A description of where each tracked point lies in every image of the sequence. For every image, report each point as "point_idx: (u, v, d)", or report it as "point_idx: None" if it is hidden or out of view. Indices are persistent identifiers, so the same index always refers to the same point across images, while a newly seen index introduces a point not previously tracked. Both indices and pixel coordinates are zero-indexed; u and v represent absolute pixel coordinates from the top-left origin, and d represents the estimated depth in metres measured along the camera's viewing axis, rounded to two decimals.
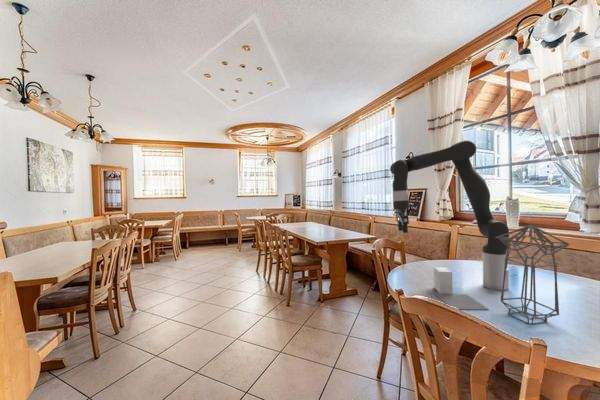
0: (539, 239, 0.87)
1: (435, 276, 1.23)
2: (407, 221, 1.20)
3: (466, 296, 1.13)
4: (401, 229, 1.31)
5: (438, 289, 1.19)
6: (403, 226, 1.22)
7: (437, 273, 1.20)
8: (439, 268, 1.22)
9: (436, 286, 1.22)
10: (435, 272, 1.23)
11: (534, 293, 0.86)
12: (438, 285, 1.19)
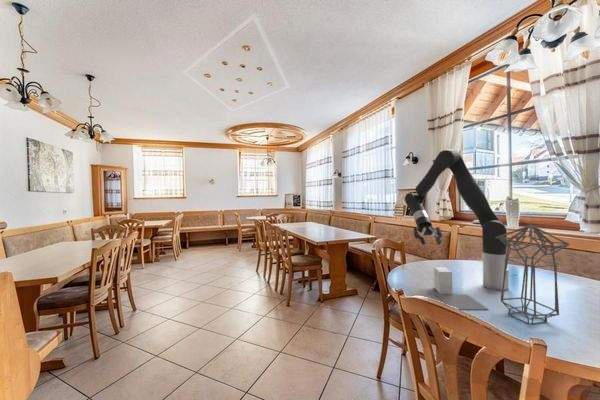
0: (539, 239, 0.87)
1: (435, 276, 1.23)
2: None
3: (466, 296, 1.13)
4: (438, 242, 1.31)
5: (438, 289, 1.19)
6: None
7: (437, 273, 1.20)
8: (439, 268, 1.22)
9: (436, 286, 1.22)
10: (435, 272, 1.23)
11: (534, 293, 0.86)
12: (438, 285, 1.19)
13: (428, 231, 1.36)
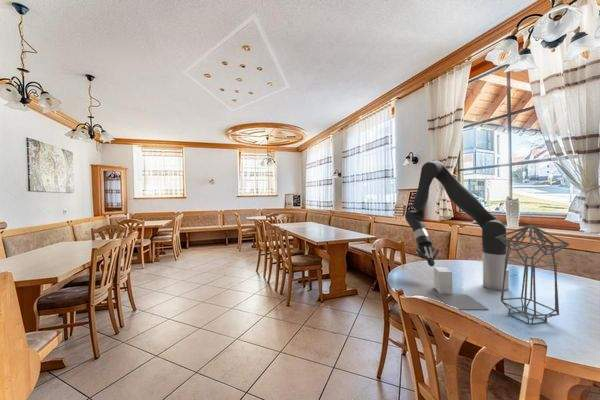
0: (539, 239, 0.87)
1: (435, 276, 1.23)
2: None
3: (466, 296, 1.13)
4: None
5: (438, 289, 1.19)
6: None
7: (437, 273, 1.20)
8: (439, 268, 1.22)
9: (436, 286, 1.22)
10: (435, 272, 1.23)
11: (534, 293, 0.86)
12: (438, 285, 1.19)
13: None
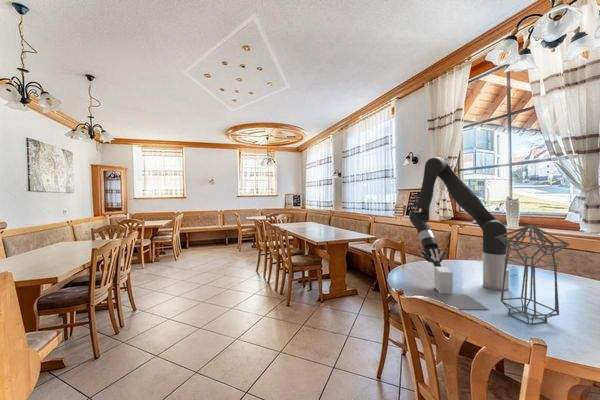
0: (539, 239, 0.87)
1: (435, 276, 1.22)
2: (429, 258, 1.28)
3: (466, 296, 1.13)
4: None
5: (438, 289, 1.19)
6: None
7: (438, 274, 1.19)
8: (439, 268, 1.22)
9: (436, 285, 1.22)
10: (435, 272, 1.22)
11: (534, 293, 0.86)
12: (438, 285, 1.19)
13: None
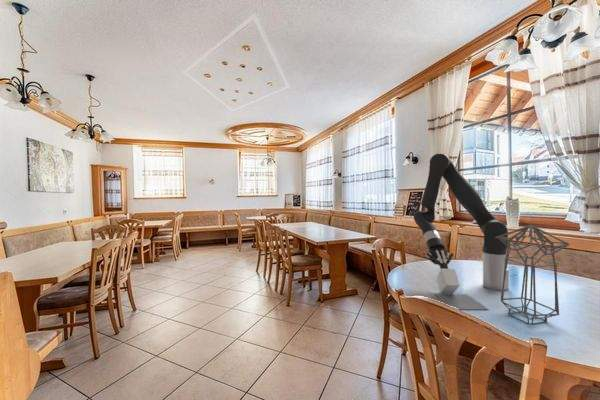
0: (539, 239, 0.87)
1: (440, 276, 1.16)
2: None
3: (466, 296, 1.13)
4: None
5: (439, 288, 1.17)
6: None
7: (443, 281, 1.12)
8: (447, 273, 1.13)
9: (438, 282, 1.19)
10: (441, 274, 1.15)
11: (534, 293, 0.86)
12: (440, 287, 1.16)
13: None
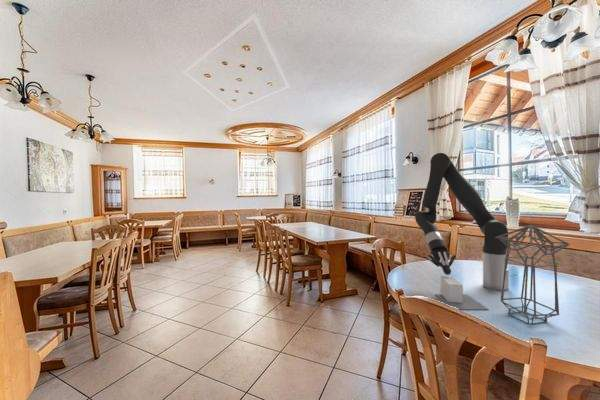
0: (539, 239, 0.87)
1: (445, 285, 1.11)
2: (438, 262, 1.19)
3: (466, 296, 1.13)
4: None
5: (441, 289, 1.16)
6: None
7: (446, 294, 1.09)
8: (453, 289, 1.07)
9: (441, 284, 1.15)
10: (446, 287, 1.09)
11: (534, 293, 0.86)
12: (442, 291, 1.14)
13: None
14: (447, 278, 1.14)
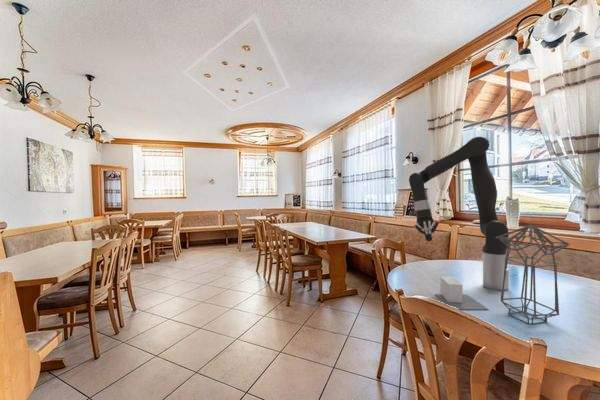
0: (539, 239, 0.87)
1: (444, 285, 1.11)
2: (422, 231, 1.32)
3: (466, 296, 1.13)
4: None
5: (441, 289, 1.16)
6: None
7: (446, 294, 1.09)
8: (453, 289, 1.07)
9: (441, 284, 1.15)
10: (446, 287, 1.09)
11: (534, 293, 0.86)
12: (442, 291, 1.14)
13: None
14: (447, 278, 1.14)
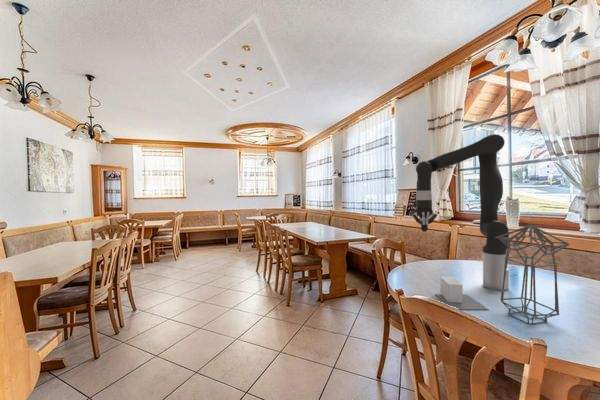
0: (539, 239, 0.87)
1: (444, 285, 1.11)
2: (419, 221, 1.33)
3: (466, 296, 1.13)
4: None
5: (441, 289, 1.16)
6: None
7: (446, 294, 1.09)
8: (453, 289, 1.07)
9: (441, 284, 1.15)
10: (446, 287, 1.09)
11: (534, 293, 0.86)
12: (442, 291, 1.14)
13: None
14: (447, 278, 1.14)
